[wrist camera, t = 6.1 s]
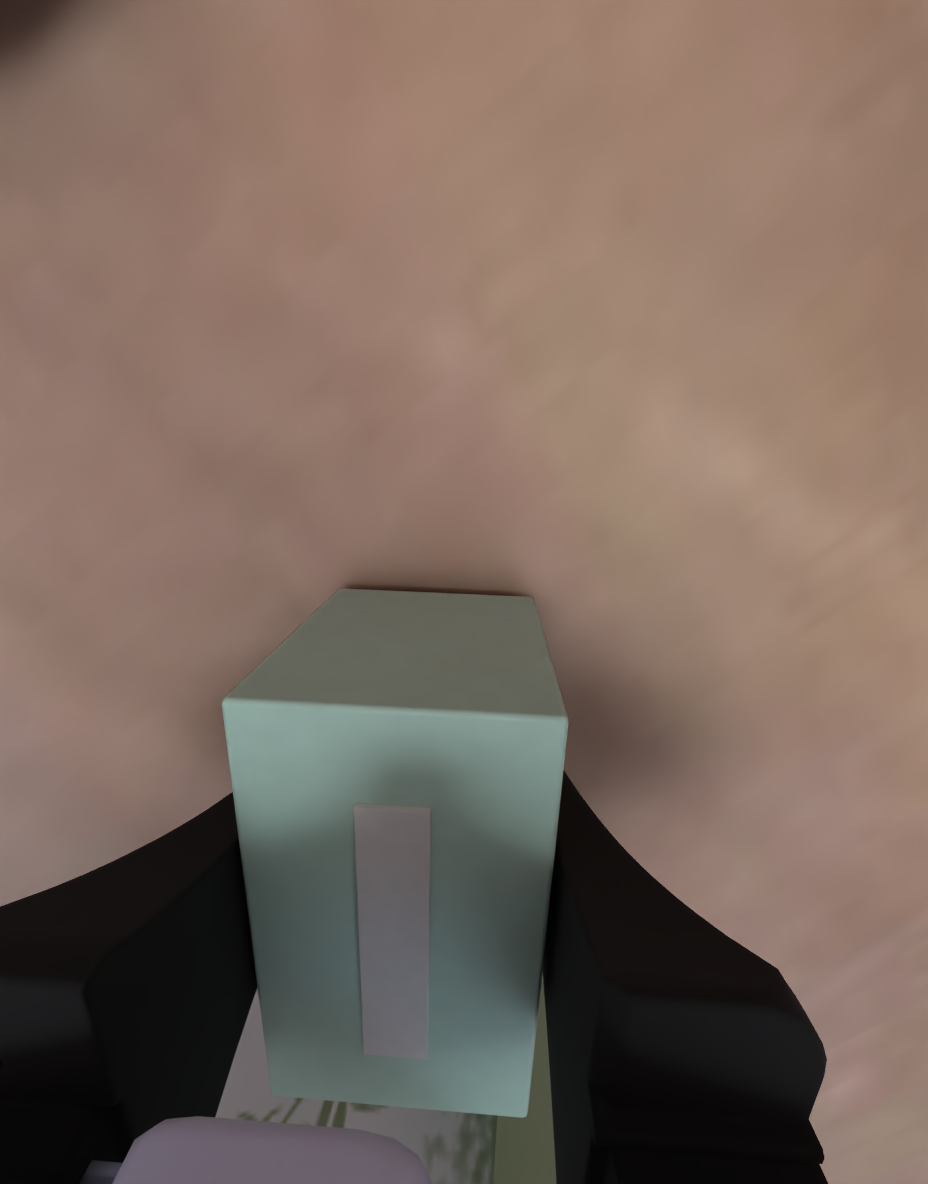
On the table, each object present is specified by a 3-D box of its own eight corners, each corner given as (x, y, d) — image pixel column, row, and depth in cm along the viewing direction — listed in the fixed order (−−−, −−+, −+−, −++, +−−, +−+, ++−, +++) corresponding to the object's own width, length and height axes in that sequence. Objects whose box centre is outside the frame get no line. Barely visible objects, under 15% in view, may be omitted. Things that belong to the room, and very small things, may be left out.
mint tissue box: (534, 596, 13) (571, 722, 7) (513, 869, 15) (528, 1127, 10) (338, 587, 13) (214, 702, 7) (350, 858, 16) (266, 1104, 10)
